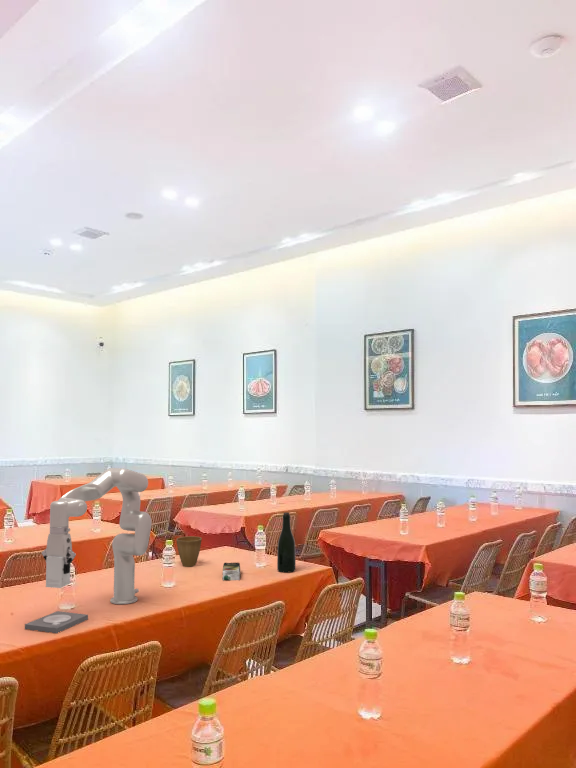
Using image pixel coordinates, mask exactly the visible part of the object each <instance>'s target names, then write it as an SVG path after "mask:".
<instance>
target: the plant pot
mask: <svg viewBox="0 0 576 768" xmlns="http://www.w3.org/2000/svg"><path fill="white" fill-rule="evenodd" d="M201 546H202V537H200V536H192V535H191V536H181V537H177V538H176V547H177V551H178V555H179V559H180V562H181V565H182V566H183V567H185V568H192V567H195V566H196V565H197V562H198V559H199V556H200V551H201Z"/></svg>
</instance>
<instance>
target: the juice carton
mask: <svg viewBox="0 0 576 768" xmlns="http://www.w3.org/2000/svg"><path fill="white" fill-rule="evenodd" d="M221 578H222V581H240V580H241V564H240V562H224V563H223V565H222V577H221Z"/></svg>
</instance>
